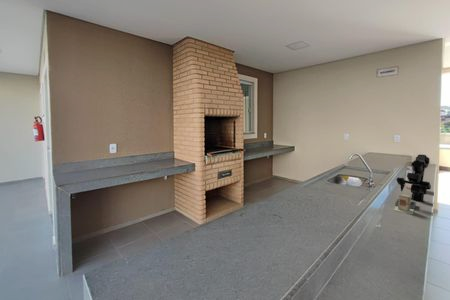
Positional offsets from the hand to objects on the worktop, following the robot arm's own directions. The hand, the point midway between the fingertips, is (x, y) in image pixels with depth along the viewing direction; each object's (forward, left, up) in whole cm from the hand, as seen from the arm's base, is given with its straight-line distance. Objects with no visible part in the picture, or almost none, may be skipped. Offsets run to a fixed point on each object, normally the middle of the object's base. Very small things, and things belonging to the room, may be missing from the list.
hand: (409, 192), depth 156 cm
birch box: (+6, +5, -11) cm, 14 cm away
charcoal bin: (-1, -4, -12) cm, 12 cm away
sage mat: (+6, +5, -12) cm, 14 cm away
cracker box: (-36, -50, -12) cm, 63 cm away
